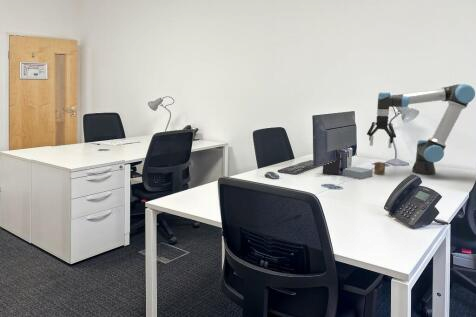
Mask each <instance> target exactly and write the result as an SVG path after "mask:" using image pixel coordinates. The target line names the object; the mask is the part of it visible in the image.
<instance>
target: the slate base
mask: <svg viewBox="0 0 476 317" xmlns="http://www.w3.org/2000/svg"><path fill="white" fill-rule="evenodd" d="M373 170H374V169H370V168H364V167H360V166H351V167H350V168H345V169H343V170H342V176H343V177H347V178H353V179H358V180H364V179H367V178H372V177H373V174H374V171H373Z"/></svg>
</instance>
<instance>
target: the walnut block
mask: <svg viewBox="0 0 476 317" xmlns="http://www.w3.org/2000/svg"><path fill="white" fill-rule="evenodd" d="M373 170H374V171H373V174H374V175H376V176H377V175H378V176H382V175H383V176H384V175H385V172H386V162H382V161H376V162H374V169H373Z"/></svg>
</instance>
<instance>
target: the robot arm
mask: <svg viewBox="0 0 476 317" xmlns="http://www.w3.org/2000/svg"><path fill="white" fill-rule="evenodd" d="M475 97H476V91H475V88H474V87H473V86H472V85H470V84H467V83H463V84H459V83H458V84H454V85H449V86H445V87H444V86H443V87H441V88H440V89H433V90H425V91H417V92H409V93H402V94H393V95H391V93H390V92H379V93H378V96H377V110H376V114H377V115H376V119H375V120H376V121H372V122H371V126H370V128H369V129H368V131H367V132H366V135H367V136H368V137H369V138H368V140H369V146H371V147H372V146H373V145H374V134H375V133H376V132H377V131H378V130H384V131H385V132H386V134H387V135H388V137H389V138H388V145H387V148H388V149H392V144H393V142H394V138H397V135H396V132H395V130H394V127H393V126H394V124H393V123H389V115H390V108H407V107H408V106H409V105H415V104H423V103H431V102H437V101H438V102H439V101H442V103H443V102H448V105H447V108H446V109H445V111H444V113H443V115H442V118H441V119H440V121H439V123H438V125H437V127H436V129H435V131H434V133H433V135H432V137H430V138H428V139H427V140H425V139H424V140H422V139H420V140H418V141H417V144H416V146H417V147H416V153H415V162H414V164H413V166H412V169H411V170H412V171H411V172H412V173H413V174H414V173H415V174H419V175H435V174H436V167H435V164H434V163H437V162H441V160H442V159H443V158H444V156H445V149H446V147H447V145H446V142H447V140H448V138H449V136H450V134H451V133H452V131H453V128H454V126H455V124H456V122H457V120H458V119H459V116H460V114H461V112H462V111H463V109H466V108H467V107H468V105H469V103H471V102H472V101H473V100H474V99H475Z"/></svg>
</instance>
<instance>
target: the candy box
mask: <svg viewBox="0 0 476 317" xmlns="http://www.w3.org/2000/svg"><path fill="white" fill-rule="evenodd" d="M348 149H349V157H348V161H347V164H348V168H350V167H352V162H353V160H352V159H353V150H354V149H353V148H352V147H350V148H348Z"/></svg>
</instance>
